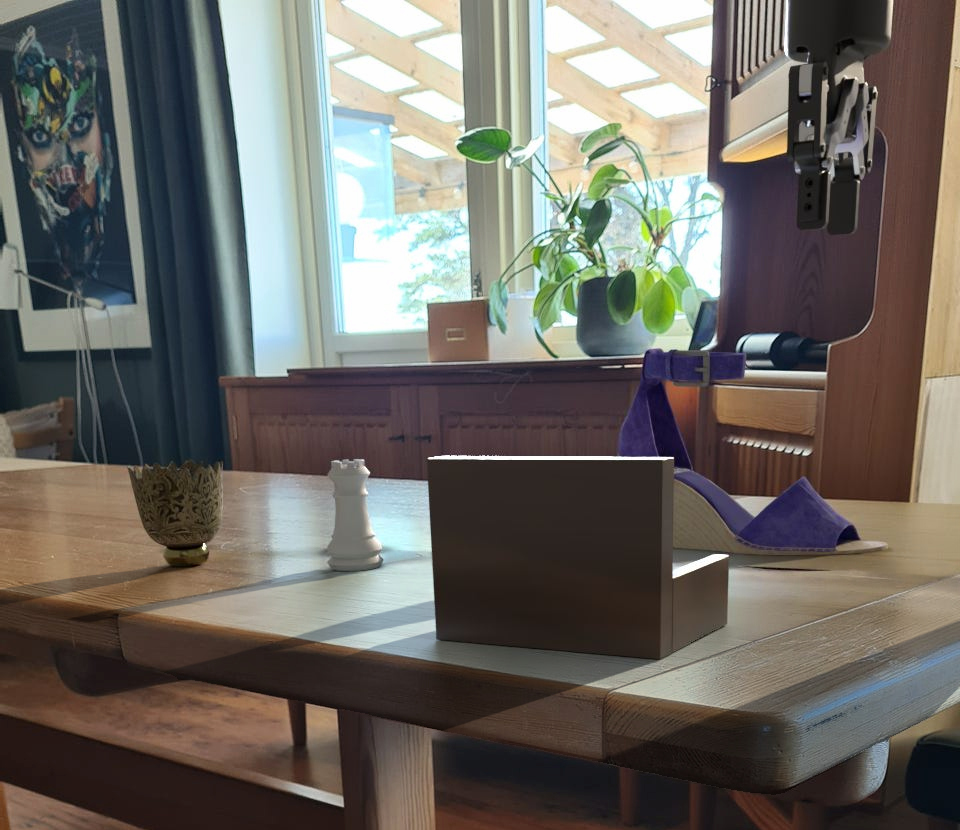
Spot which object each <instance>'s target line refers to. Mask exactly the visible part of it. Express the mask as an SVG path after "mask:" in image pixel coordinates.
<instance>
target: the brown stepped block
mask: <svg viewBox="0 0 960 830" xmlns="http://www.w3.org/2000/svg"><path fill="white" fill-rule="evenodd" d="M426 471H427V490H428V491H427V493H428V508H429V525H430V526H429V527H430V528H429V529H430V530H429V531H430V546H431V564H432V565H431V566H432V581H433V583H432V584H433V602H434V622H435V639H436V640H439V641H449V642H450V641H451V642H453V641H454V642H462V643H474V644H485V645H495V646H505V647H517V648H527V649H528V648H529V649H539V650H549V651H550V650H552V651H562V652H573V653H574V652H575V653H583V654H585V653H586V654H595V655H605V656H606V655H608V656H616V657H617V656H618V657H630V658H639V659H640V658H642V659H650V660H651V659H652V660H661V659H664V658H666V657H668V656H669V655H671V654H673V653H675V652H677V651H678V650H680V649H682V648H684V647H686V646H688V645H690V644H692V643H694V642H696V641H698V640H700V639H701V638H700V637H702V638H703V636H704V635H706V634H708V633H709V634H711V633H713V632H715V631H718V630H719V629H721V628H723V627H725V626H727V625H728V609H729V608H728V607H729V605H728V604H729V575H730V571H729V570H730V555H729V554H718V553H717V554H715V553H713V554H711V555H708V556H706V557H704V558H701V559H698V560H696V561H693V562H691V563H688V564H685V565H682V566H680V567H677V568H675V569H674V548H673V510H674V457H617V456H514V455H513V456H505V455H504V456H502V455H501V456H499V455H498V456H497V455H495V456H493V455H492V456H489V455H487V456H485V455H482V456H481V455H479V456H475V455H474V456H473V455H472V456H471V455H468V456H467V455H458V456H457V455H451V456H450V455H441V456H434V457H427V458H426ZM726 624H727V625H726ZM724 625H725V626H724ZM722 626H723V627H722ZM720 627H721V628H720ZM714 630H715V631H714ZM712 631H713V632H712ZM710 632H711V633H710ZM709 634H708V635H709ZM706 636H707V635H706ZM704 637H705V636H704ZM699 638H700V639H699ZM697 639H698V640H697ZM695 640H696V641H695ZM693 641H694V642H693ZM691 642H692V643H691Z"/></svg>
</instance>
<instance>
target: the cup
mask: <svg viewBox="0 0 960 830" xmlns="http://www.w3.org/2000/svg"><path fill="white" fill-rule="evenodd" d="M126 467H127V472H128V474H129V480H130V483H131V489H132V491H133V496H134V500H135V504H136V507H137V512H138V515H139V519H140V521H141V524H142V526H143V530H145V533H146V534H147V536H148V537H149V538H150V539H151V540H152V541H153V542H155V543H156V544H158V545H161V546H164V550H163V553H162V557H163V559H164V560H165V562H166V563H167V565H168V566H172V567H193V566H199V565H203V564H204V563H206V562H207V561H208V559H209V555H210V550H209V549H208V547H207V545H206V544H207V543H209V542H210V541H212V540H213V539H214V538H215V537H216V535H217V534H218V533H219V530H220V529H221V525H222V519H223V505H224V503H223V502H224V501H223V498H224V497H223V495H224V494H223V493H224V492H223V491H224V489H223V487H224V485H223V484H224V483H223V478H224V477H223V467H224V463H223V461H222V460H221V461H220V462H219V461H218V460H217V461H215V463H214V465H213V467H212V465H211V464H208V465H207V467H206V465H205V462H204V461H203V460H201V461H200V462H199V463H198V465H197V464H196V462H195V461H194V460H192V458H191V459H188V460H185V462H184V463H182V464H181V465H180V466H179V467H177V465H176V463H175V462H174V461H172V460H171V461H170V463H169V465H168V466H167V467H162V466H161V465H160V464H159V463H158V462H154V463H153V464H152V468H151V467H150V466H149V465H148V464H147V463H144V464H143V465H142V469H141V470H140V468H139V466H138V465H134V466H133V469H132V468H131V467H130V466H129V465H127V466H126Z"/></svg>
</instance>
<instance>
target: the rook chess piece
mask: <svg viewBox="0 0 960 830" xmlns="http://www.w3.org/2000/svg"><path fill="white" fill-rule="evenodd" d="M352 460H353V461H350V460H349V459H342V460H341V461H340V460H331V461H330V464H331V467H330V470H329V471H328V473H327V477H328V478H329V479H330V481H331V482H332V484H333V486H334V487H333V488H334V491H333V493H332V494H331V496H332V497H333V499H334V506H335V513H334V528H333V532H332V533H333V534H331V535H330V537H331V540H330V542H329V543H328V544H327V547H326V552H327V553H328V554H329V555H330V556H331V557H330V558H329V559H328V560H327V561H326V563H327V564H328V566H329V567H330V568H331V570H332V571H337V572H359V571H368V570H369V571H370V570H374V569H378V568H379V567H381V565H382V564H383V562H384V561H385V559H384V558H383V557H382V556H380V555H379V554H380V552H381V551H382V549H383V546H382V543H381V542H380V541H379V540H378V539H377V538H376V533H375V532H374V530H373V527H372V524H371V520H370V516H369V510H368V501H367V498H368V496H369V492H368V491H367V488H366V481H367V480H368V478H369V476H370V474H371V472H370V471H369V470H368V468H367V467H366V463H365V462H366V461H365V459H360V458H356V459H352Z"/></svg>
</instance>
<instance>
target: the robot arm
mask: <svg viewBox="0 0 960 830" xmlns="http://www.w3.org/2000/svg"><path fill="white" fill-rule="evenodd" d="M893 9H894V0H786V9H785V31H784V32H785V35H784V53H785V55H786V57H787V58H788V59H789V60H791V61H794V62H796V63H801V64H796V65H790V67H789V70H788V89H787V90H788V93H787V94H788V95H787V96H788V97H787V101H788V102H787V130H786V132H787V133H786V135H787V136H786V137H787V138H786V139H787V140H786V157H787V161H788V162H794V163H793V167H794V171H795V174H798V181H797V182H798V183H797V203H796V228H797V229H798V230H800V231H817V230H818V231H819V230H824V229H826V232H827V234H828V235H829V236H833V237H834V236H835V237H837V236H849V235H854V234H855V233H856V231H857V230H858V221H859V203H860V186H861V180H862V181H863V179H864V177H865V174H870V172H871V171H872V167H873V151H874V139H875V125H876V113H877V100H878V93H879V92H878V90H877V86H869V85H868V83H867V82H865V74H864V73H865V72H864V71H865V68H864V62H865V60H866V59H867V58H868V57H869V56H875V55H878V54H880V53H882V52H884V51H885V50H886V49H887V48H888V47H889V46H890V43H891V40H892V29H893V28H892V25H893V13H894V12H893V11H894V10H893ZM802 63H803V64H802ZM849 153H851V155H852V156H851V157H848V156H849Z"/></svg>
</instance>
